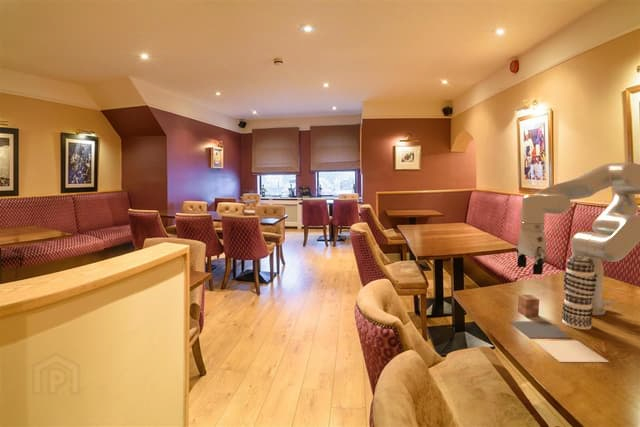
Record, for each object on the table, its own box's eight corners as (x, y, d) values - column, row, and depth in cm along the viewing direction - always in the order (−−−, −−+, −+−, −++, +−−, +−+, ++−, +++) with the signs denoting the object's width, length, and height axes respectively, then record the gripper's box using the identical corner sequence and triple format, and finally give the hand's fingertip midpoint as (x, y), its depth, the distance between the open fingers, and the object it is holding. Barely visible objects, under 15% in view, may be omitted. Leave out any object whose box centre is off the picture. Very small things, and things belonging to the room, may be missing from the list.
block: (530, 311, 127) (531, 294, 126) (538, 316, 122) (539, 299, 121) (517, 311, 127) (518, 294, 126) (525, 316, 122) (526, 299, 121)
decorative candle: (595, 332, 109) (601, 262, 106) (562, 326, 114) (566, 258, 111) (590, 322, 117) (595, 256, 114) (559, 316, 122) (563, 253, 119)
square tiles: (547, 321, 118) (547, 321, 118) (609, 362, 92) (609, 361, 92) (509, 322, 118) (509, 321, 118) (559, 362, 92) (559, 361, 92)
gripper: (558, 230, 112) (554, 277, 114) (528, 223, 129) (525, 264, 131) (536, 230, 112) (533, 277, 114) (509, 223, 129) (506, 264, 131)
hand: (529, 270), depth 123 cm, fingers open, 9 cm apart
